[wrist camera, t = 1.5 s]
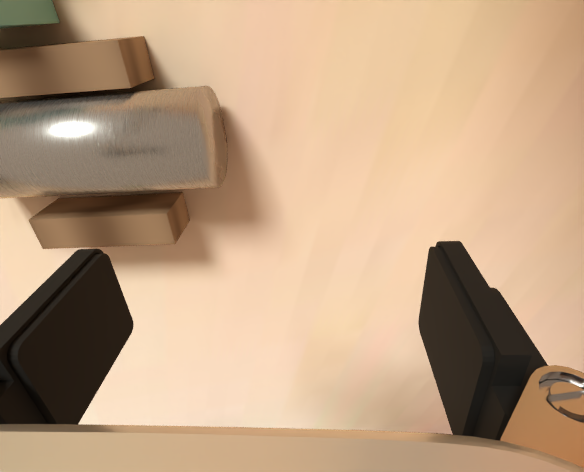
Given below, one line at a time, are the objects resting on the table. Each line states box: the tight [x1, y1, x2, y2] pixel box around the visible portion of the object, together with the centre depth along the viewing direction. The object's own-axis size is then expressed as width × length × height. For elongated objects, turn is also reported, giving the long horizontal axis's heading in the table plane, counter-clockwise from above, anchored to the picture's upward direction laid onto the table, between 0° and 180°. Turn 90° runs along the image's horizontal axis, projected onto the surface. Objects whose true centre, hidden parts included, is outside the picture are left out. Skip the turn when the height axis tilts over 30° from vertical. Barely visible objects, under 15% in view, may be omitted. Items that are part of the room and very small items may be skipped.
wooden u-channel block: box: [0, 36, 190, 249], centre depth 25 cm, size 10×13×4 cm
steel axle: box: [0, 86, 227, 198], centre depth 24 cm, size 18×6×6 cm, turn 94°
